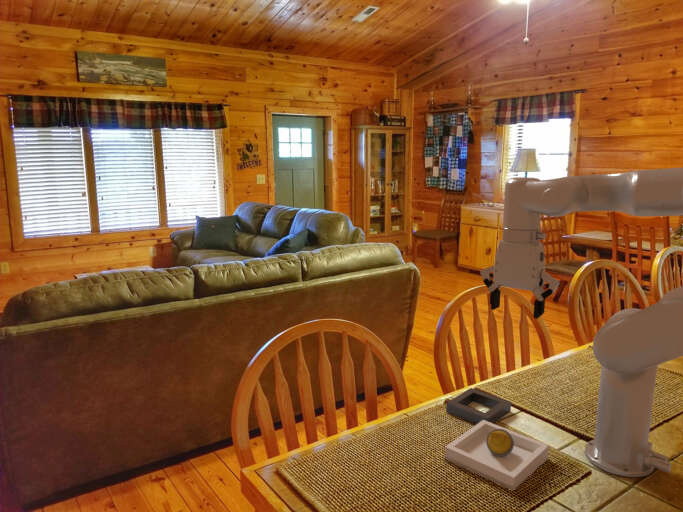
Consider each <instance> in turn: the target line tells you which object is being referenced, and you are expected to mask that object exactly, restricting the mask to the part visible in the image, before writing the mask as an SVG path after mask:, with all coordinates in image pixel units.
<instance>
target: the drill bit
mask: <svg viewBox="0 0 683 512" xmlns="http://www.w3.org/2000/svg"><path fill="white" fill-rule="evenodd" d="M486 444H487V447H488V449H489V451H490V452H491V453H492V454H494V455H496V456H499V457H503V456H507V455H508V454H510V453H511V451H512V450H513V447H514V441H513V438H512V436H511V435H510V434H509V433H508V432H507V431H505V430H503V429H495V430H493V431H491V432H490V433H489V435H488V436H487V440H486Z"/></svg>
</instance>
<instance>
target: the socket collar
mask: <svg viewBox="0 0 683 512" xmlns="http://www.w3.org/2000/svg"><path fill="white" fill-rule="evenodd" d="M471 403H476V404H477V405H478V404H479V405H481V406H484V407H487V408H489V409H488V410H487V411H485V412H483V411H481V410H478V409H475V408H473V407H470V406H468V405H470V404H471ZM445 404H446V409H445V410H446V411H445V412H446V413H448V414H450V415H451V416H454V417H457V418H459V419H462V420H464V421H467V422H470V423H472V424H474V425H477V424H478V423H479V422H481V421H482V420H485V421H488V422H490V423H493V424H496V423H497V422H498V421H500V420H501V419H502V418H504V417H505V416H507V415H508V414H509V413H510V412H512V401H510V400H507V399H503V398H501V397H498V396H496V395H493V394H489V393H487V392H484V391H481V390H478V389H475V388H472V387H470V388H468V389H466V390H465V391H464V392H462V393H460V394H459V395H457V396H456V397H454V398H452V399H450V400H449V401H447V402H446V403H445Z"/></svg>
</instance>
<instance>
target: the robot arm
mask: <svg viewBox="0 0 683 512" xmlns="http://www.w3.org/2000/svg"><path fill="white" fill-rule="evenodd" d="M503 202H504V203H503V219H502V237H501V240H499V242H498V245H497V248H496V253H495V259H494V265H492V266H489V267H486V268H484V269H481V270H479V274H480V276H481V278H482V281H483V284H484V285H485V286H486V287H487V290H488V292H489V305H490V310H492V311H494V310H496V309H498V308H500V307H501V289H500V288H501V287H506V288H512V289H517V290H525V291H529V292H530V291H531V292H532V293H533V295H534V296H535V298H536V299H535V300H534V305H533V315H532V316H533V318H534V319H536V320H537V319H539V318H540V317H542V315H544V314H545V308H546V307H545V306H546V299H547V298H549V297H550V296H551V295H552V294H554V293H555V291H556V290H557V289H558V287H559V285H560V281H559V280H558V279H556V277H554V276H552V275H550V274H549V273H548V272H546V258H545V256H546V255H545V248H544V244H543V242H540V241H542V240H546V239H547V233H545V232H542V228H541V218H542V215H543V216H547V217H553V218H554V217H555V218H558V217H563V216H566V215H569V214H571V213H575V212H576V213H577V212H599V211H600V212H621V213H623V214H624V213H625V214H627V215H630V216H633V217H670V216H671V217H675V216H676V217H678V216H679V217H681V216H683V167H671V168H670V167H669V168H655V169H653V168H652V169H640V170H630V171H627V172H626V171H625V172H620V173H618V172H617V173H607V174H590V175H589V174H588V175H587V174H586V175H574V176H572V175H571V176H563V177H558V178H552V179H542V180H541V179H540V178H536V177H529V176H528V177H526V176H525V177H523V176H522V177H519V176H518V177H511V178H508V179H507V181H506V182H505V185H504V201H503ZM490 273H493V279H492V278H491V277H490ZM545 282H546V283H548V285H549V286H548V288H547V289H546V290H545V289H544V288H543V286H544V285H545ZM592 350H593V355H594V357H595V358H596V360H597V362H598V363H599V365H601V367H600V368H601V369H600V378H599V380H600V381H599V385H598V387H599V388H598V397H597V399H598V400H597V407H596V408H597V409H596V416H595V417H596V419H595V431H594V439H592V440H590V441H588V442H587V443H586V444H585V448H584V453H585V454H584V455H585V456H586V458H587V459H588V461H589V462H590V463H591V464H593V465H594V466H595V467H597V468H599V469H601V470H603V471H604V472H607V473H610V474H613V475H616V476H621V477H627V478H641V477H645V476H646V477H647V476H649V475H651V473H653V472H654V470H655V469H658V470H660V471H662V472H665V473H668V474H669V473H670V472H671V469H672V462H670V461H668V456H666V455H664V454H662V453H661V454H660V453H657V452H655V450H653V449H652V448H653V443H652V442H651V441H649V439H650V438H649V437H650V429H651V422H652V421H651V419H652V413H653V412H652V411H653V403H654V395H655V388H656V387H655V386H656V381H657V374H658V373H657V372H658V367H659V365H662V364H664V363H666V362H670V361H673V360H676V359H678V358H681V357H683V285H680V286H678V287H676V288H673V289H671V290H669V291H668V292H666V293H665V294H664V295H662V297H661V298H660V299H659V301H657V302H655V303H654V304H651V305H649V306H647V307H645V308H643V309H640V308H635V307H632V308H631V307H630V308H625V309H621V310H619V311H617V312H616V313H614V314H613V315H612V316H610V318H609V319H608V320H607V321H606V322H604V324H603V325H602V326H601V327H600V328H599V329H598V330H597V332H596V333H595V335H594V338H593V341H592Z"/></svg>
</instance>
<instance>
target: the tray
mask: <svg viewBox="0 0 683 512" xmlns="http://www.w3.org/2000/svg"><path fill="white" fill-rule="evenodd" d="M495 429H503V430H505V431H507V432H508V433H509V434H510V435H511V436H512V438H513V441H514V447H513V450H512V451H511V453H510V454H508V455H507V456H503V457H499V456H496V455H494V454H492V453H491V452H490V451H489V449H488V447H487V444H486V440H487V436H488V435H489V433H490V432H491V431H493V430H495ZM549 450H550V445H549V444H547V443H544V442H541V441H539V440H536V439H534V438H532V437H529V436H526V435H524V434H522V433H518V432H516V431H513V430H511V429H508V428H505V427H502V426H500V425H498V424H496V423H494V424H493V423H490V422H488V421H485V420H482V421H481V422H479V423H478V424H474V426H472V427H471V428H470V429H468V430H466V431H465V432H464V433H463V434H461V435H460V436H458V437H457V438H455V439H454V440H452V441H451V442H450V443H448V444H447V445H445V447H444V460H445V459H446V460H448V461H450V462H452V463H454V464H456V465H455V466H457V465H458V466H457V467H459V466H461V467H463V468H465V469H468V470H469V471H471V472H474V473H475V474H474V473H473V474H474V475H476V474H478V475H480V476H482V477H485V478H487V479H489V480H491V481H493V482H495V483H497V484H500V485H502V486H504V487H506V488H508V489H511V490H512V491H513V490H514V489H516V488H517V487H518V486H519V485H520V484H521V483H522V482H523V481H524V480H525V479H526V480H527V479H528V478H529V477H531V475H533V474H534V473H535V472H536V471H537V470H538V469H539V468H540V467H541V466H542V465H543V464H544V463H545V462H546V461H547V460H548V459H549ZM446 460H445V461H446ZM448 461H447V462H448ZM450 462H449V463H450ZM452 463H451V464H452ZM454 464H453V465H454ZM540 465H541V466H540ZM539 466H540V467H539ZM461 467H460V468H461ZM538 467H539V468H538ZM463 468H462V469H463ZM537 468H538V469H537ZM465 469H464V470H465ZM536 469H537V470H536ZM535 470H536V471H535ZM469 471H468V472H469ZM534 471H535V472H534ZM471 472H470V473H471ZM533 472H534V473H533ZM478 475H477V476H478ZM480 476H479V477H480ZM528 476H529V477H528ZM482 477H481V478H482ZM527 477H528V478H527ZM526 480H525V481H526ZM525 481H524V482H525ZM493 482H492V483H493ZM524 482H523V483H524ZM495 483H494V484H495ZM523 483H522V484H523ZM497 484H496V485H497ZM522 484H521V485H522ZM521 485H520V486H521ZM520 486H519V487H520ZM519 487H518V488H519ZM518 488H517V489H518ZM517 489H516V490H517ZM512 491H511V492H512Z"/></svg>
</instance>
